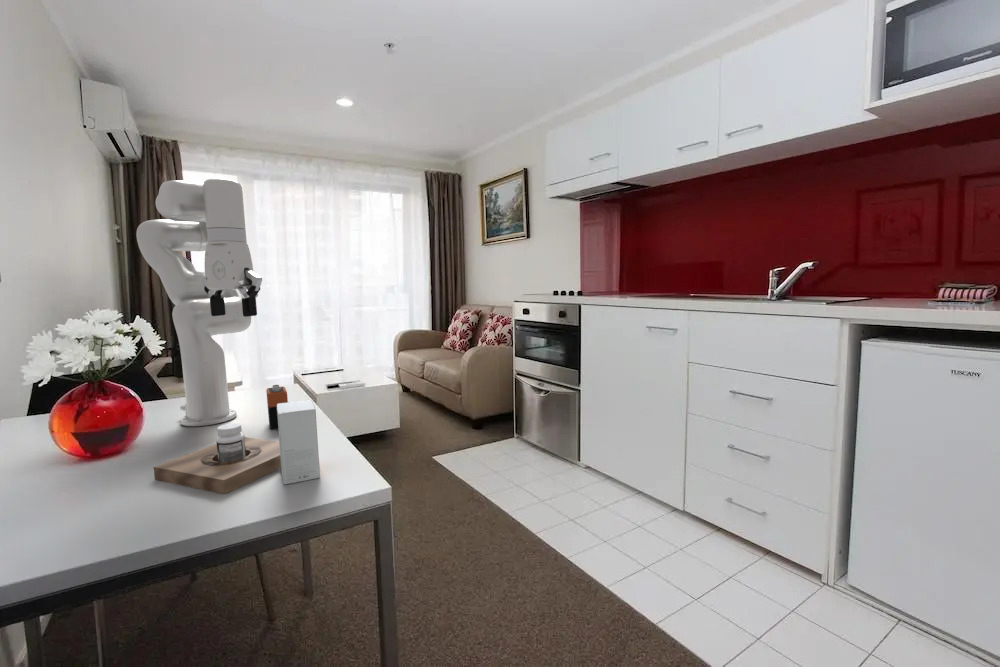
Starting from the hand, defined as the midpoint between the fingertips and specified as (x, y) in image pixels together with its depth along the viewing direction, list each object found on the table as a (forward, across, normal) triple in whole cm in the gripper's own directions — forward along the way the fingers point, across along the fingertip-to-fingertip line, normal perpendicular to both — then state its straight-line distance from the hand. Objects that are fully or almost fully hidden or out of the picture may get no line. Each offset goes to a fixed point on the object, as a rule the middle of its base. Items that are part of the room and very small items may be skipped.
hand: (234, 315), depth 109 cm
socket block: (+28, +13, -14) cm, 34 cm away
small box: (+28, +28, -12) cm, 42 cm away
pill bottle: (+28, +13, -14) cm, 34 cm away
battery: (+28, 0, +10) cm, 30 cm away
